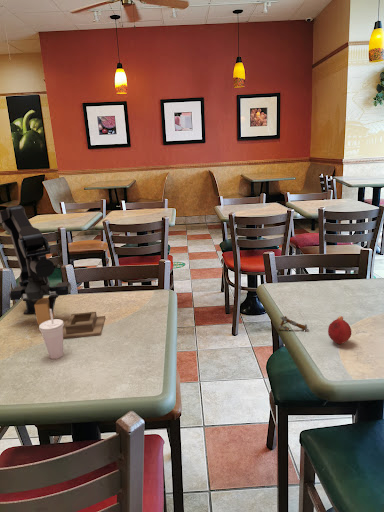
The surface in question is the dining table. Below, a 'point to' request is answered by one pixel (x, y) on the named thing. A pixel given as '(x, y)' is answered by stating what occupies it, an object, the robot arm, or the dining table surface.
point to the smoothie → (53, 336)
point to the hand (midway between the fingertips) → (45, 314)
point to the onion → (339, 330)
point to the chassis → (83, 325)
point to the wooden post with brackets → (291, 323)
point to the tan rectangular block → (43, 310)
